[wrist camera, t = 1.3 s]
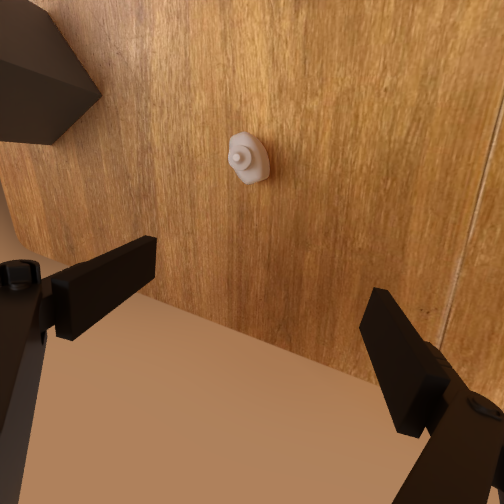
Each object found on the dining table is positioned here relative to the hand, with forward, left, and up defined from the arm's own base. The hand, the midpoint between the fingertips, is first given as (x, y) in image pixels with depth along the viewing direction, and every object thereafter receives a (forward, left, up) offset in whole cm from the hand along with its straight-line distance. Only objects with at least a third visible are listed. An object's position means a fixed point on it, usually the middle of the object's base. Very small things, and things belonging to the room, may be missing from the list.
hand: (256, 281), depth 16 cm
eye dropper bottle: (+1, +8, -24) cm, 25 cm away
